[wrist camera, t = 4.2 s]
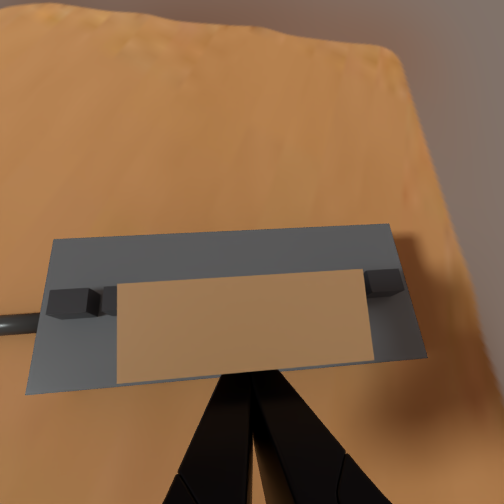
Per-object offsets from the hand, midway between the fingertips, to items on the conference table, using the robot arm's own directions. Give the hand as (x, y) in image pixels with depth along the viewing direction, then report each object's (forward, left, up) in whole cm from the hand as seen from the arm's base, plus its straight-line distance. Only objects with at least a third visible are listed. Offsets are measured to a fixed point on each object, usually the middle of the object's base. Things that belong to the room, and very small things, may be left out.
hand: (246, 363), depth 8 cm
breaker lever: (+3, -1, -6) cm, 7 cm away
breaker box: (+5, +3, -11) cm, 13 cm away
